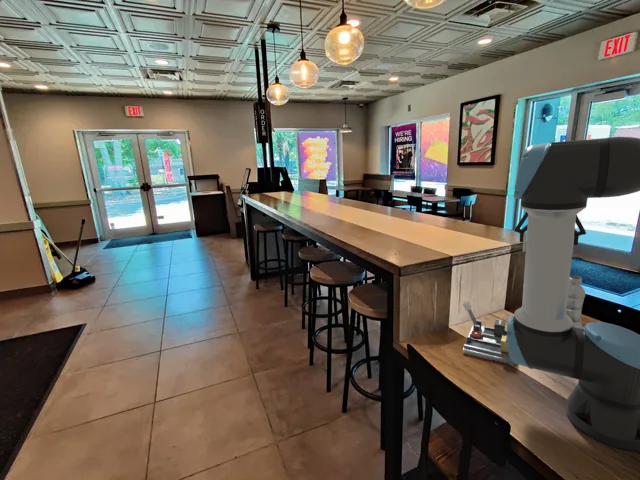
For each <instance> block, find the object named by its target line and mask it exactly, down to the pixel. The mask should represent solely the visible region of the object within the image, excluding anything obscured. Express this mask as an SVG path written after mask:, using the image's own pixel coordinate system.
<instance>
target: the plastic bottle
mask: <svg viewBox="0 0 640 480" xmlns="http://www.w3.org/2000/svg"><path fill="white" fill-rule="evenodd" d="M582 283H583V279H582V277H581V276H578V275H570V278H569V287H568V297H567V306H566V315H568V316H569V317H570V318H571V319H572V321H573V327H575V328H581V329H583V323H582V322H583V321H582V310H583V304H584V300H585V297H586V290H585V289H584V288H583V286H582Z"/></svg>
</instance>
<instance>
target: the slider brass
mask: <svg viewBox="0 0 640 480" xmlns="http://www.w3.org/2000/svg"><path fill="white" fill-rule="evenodd" d="M500 353H505V354H509V352H508V345H507V336H503V335H502V339H501V350H500Z"/></svg>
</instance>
